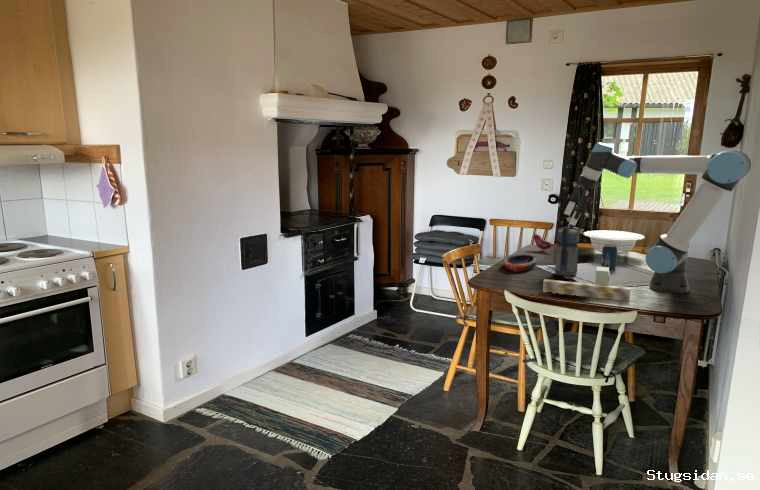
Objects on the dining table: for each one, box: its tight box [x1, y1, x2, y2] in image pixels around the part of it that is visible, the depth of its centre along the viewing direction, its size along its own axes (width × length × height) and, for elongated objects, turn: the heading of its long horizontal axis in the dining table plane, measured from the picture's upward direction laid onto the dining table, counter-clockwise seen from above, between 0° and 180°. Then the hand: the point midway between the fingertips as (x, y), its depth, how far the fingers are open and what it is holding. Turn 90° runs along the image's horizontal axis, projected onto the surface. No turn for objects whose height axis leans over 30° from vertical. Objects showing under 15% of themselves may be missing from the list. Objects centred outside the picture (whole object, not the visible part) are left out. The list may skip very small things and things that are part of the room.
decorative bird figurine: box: [532, 233, 558, 253], centre depth 308 cm, size 3×18×10 cm, turn 40°
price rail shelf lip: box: [542, 278, 631, 302], centre depth 221 cm, size 34×4×5 cm, turn 66°
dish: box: [502, 253, 538, 273], centre depth 273 cm, size 16×31×5 cm, turn 147°
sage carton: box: [594, 266, 611, 286], centre depth 228 cm, size 8×5×10 cm, turn 156°
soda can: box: [600, 244, 618, 270], centre depth 268 cm, size 7×7×12 cm
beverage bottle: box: [554, 224, 580, 277], centre depth 255 cm, size 10×13×25 cm
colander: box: [583, 229, 646, 256], centre depth 294 cm, size 32×32×13 cm
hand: (569, 219), depth 243 cm, fingers open, 13 cm apart
